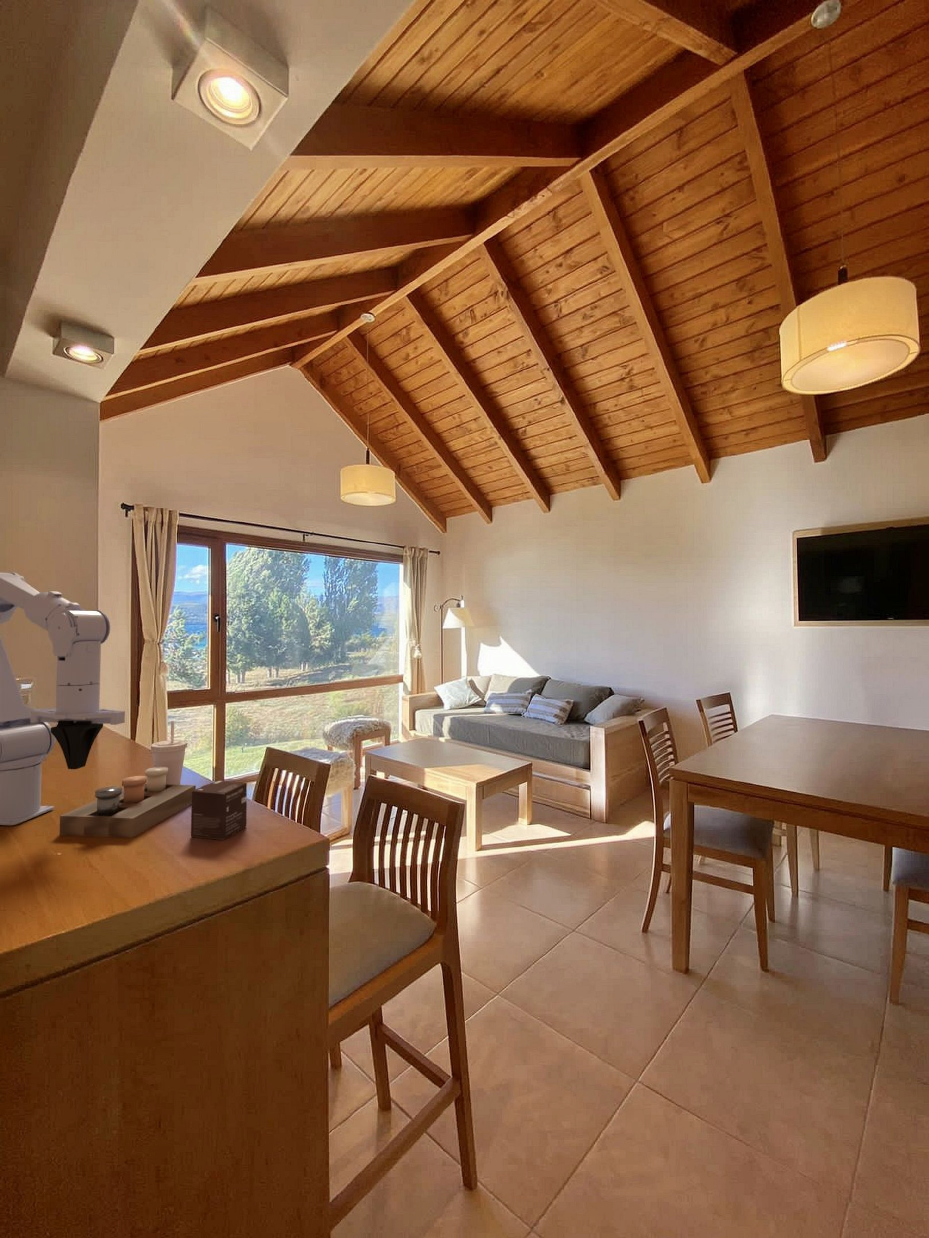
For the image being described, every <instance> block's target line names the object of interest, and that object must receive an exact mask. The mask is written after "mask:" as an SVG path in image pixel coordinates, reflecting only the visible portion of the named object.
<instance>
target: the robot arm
mask: <svg viewBox="0 0 929 1238" xmlns="http://www.w3.org/2000/svg"><path fill="white" fill-rule="evenodd" d="M63 596H64V595H63V593H62V592H60V591H53V590H49V591H45V592H40V591H39V590H37V589H35V587H33V586H31V585H29V583H27V582H26V579H25V576H23V575H19V574H18V573H17V572H14V571H10V572H1V571H0V625H2V624H4V623H6V622H9V621H10V619H11V618H12V616H13V615H14V613H15V611H16V610H17V608H20V609H21V610H24V616H25V617H26V618H27V620H28V621H30V622H32V623H33V624H34V625H37V626H38V627H39V628H41V629H43V630H45V631H47V633H48V637H49V639H50V641H51V644H52V653H53V655H54V657H56V681H55V682H56V683H55V684H56V685H55V686H56V688H55V690H56V691H55V693H56V694H55V708H41V709H40V708H39V709H35V708H33V707H31V706H29V705H26V704H25V702H24V698H23V696H22V693H21V691H20V688H19V684H18V682H17V678H16V676H15V673H14V670H13V668H12V664H11V662H10V659H9V656H8V653H7V650H6V646H5V645H4V642H3V639H2V635H1V634H0V826H16V825H18V824H21V823H23V822H25V821H28V820H31V819H33V818H35V817H38V816H41V815H42V814H44V813H48V812H49V811H52V810H54V809H55V806H54V805H41V803H42V800H41V799H42V768H43V767H42V763H43V762H44V761H47V757H48V756H49V755H50V754H51V753H52V751H53V750H54V748H55V745H56V741H57V743H58V744H59V746H60V748H61V751H62V754H63V755H64V758H65V762H66V763H65V764H66V766H67V769H68V770H78V769H80V768H84V767H86V764H87V761H88V758H89V755H90V752H91V749H92V746H93V744H94V742H95V740H96V738H97V737H98V735H99V733H100V732H101V730H102V729H103V727H104V725H105V724H106V725H107V724H108V725H109V724H110V726H111V725H112V726H117V725H121V724H123V723H125V721H126V720H125V719H126V717H125V716H126V715H125V714H126V713H125V712H126V711H125V710H114V709H107V708H106V709H105V708H100V703H101V702H100V691H101V653H102V652H101V651H102V650H101V649H102V644H104V643H105V642H106V641H107V640H108V638H109V635H110V632H111V624H110V623H111V622H110V620H109V617H108V616H107V615H106V614H105V613H104V612H103V611H102V610H100V609H92V610H86V609H84V608H82V607H81V604H79V603H78V602H71V601H70V600H68V599H67V598H64V597H63ZM50 723H57V724H56V726H53V727H52V726H51V724H50Z"/></svg>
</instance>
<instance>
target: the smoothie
mask: <svg viewBox="0 0 929 1238" xmlns="http://www.w3.org/2000/svg"><path fill="white" fill-rule="evenodd" d="M188 746H189V745H188V741H186V740H182V739H179V740H178V739H175V721H174V720H171V721H170V740H164V741H162V740H161V741H158V742H153V743H152V744H151V745H150V751H151V752H152V758H153V768H154V767H167V768H168V773H167V774H166V784H172V785H181V780H182V774H183V768H184V760H185V754H186V749H187V748H188Z"/></svg>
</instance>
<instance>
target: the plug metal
mask: <svg viewBox="0 0 929 1238" xmlns="http://www.w3.org/2000/svg"><path fill="white" fill-rule="evenodd" d="M122 789H123V786H117V785H115V786H114V785H113V786H105V787H102V788H98V789H96V790H95V791H94V797H95V798H96V800H97V816H113V815H115V814H117V813H119V804H120V794H122Z"/></svg>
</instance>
